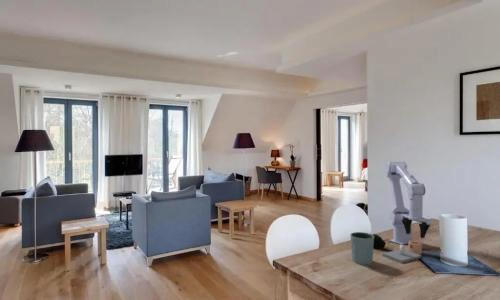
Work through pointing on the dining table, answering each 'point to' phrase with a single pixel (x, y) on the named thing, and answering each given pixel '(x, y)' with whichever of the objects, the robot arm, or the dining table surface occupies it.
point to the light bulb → (381, 243)
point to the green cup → (362, 248)
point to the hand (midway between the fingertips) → (415, 235)
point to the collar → (415, 247)
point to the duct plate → (401, 255)
